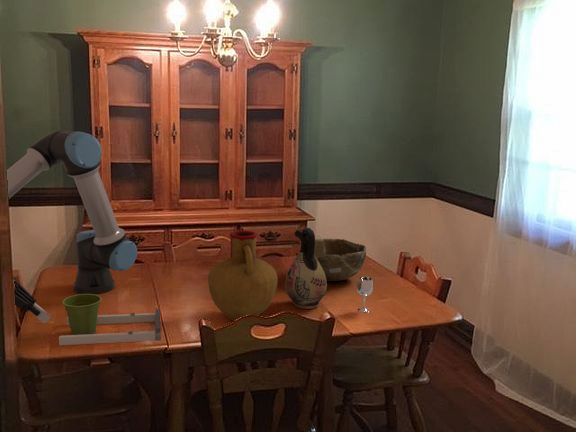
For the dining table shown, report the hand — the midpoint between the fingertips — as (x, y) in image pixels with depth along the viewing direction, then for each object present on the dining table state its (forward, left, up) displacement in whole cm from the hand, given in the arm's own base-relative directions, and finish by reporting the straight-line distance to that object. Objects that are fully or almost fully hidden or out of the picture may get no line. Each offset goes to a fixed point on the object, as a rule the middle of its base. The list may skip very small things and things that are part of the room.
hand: (47, 319), depth 196 cm
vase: (+43, +46, -5) cm, 63 cm away
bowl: (+51, +104, -5) cm, 116 cm away
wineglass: (+76, +76, -5) cm, 108 cm away
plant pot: (+8, +7, -5) cm, 12 cm away
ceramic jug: (+56, +69, -5) cm, 89 cm away
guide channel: (+15, +13, -5) cm, 20 cm away
